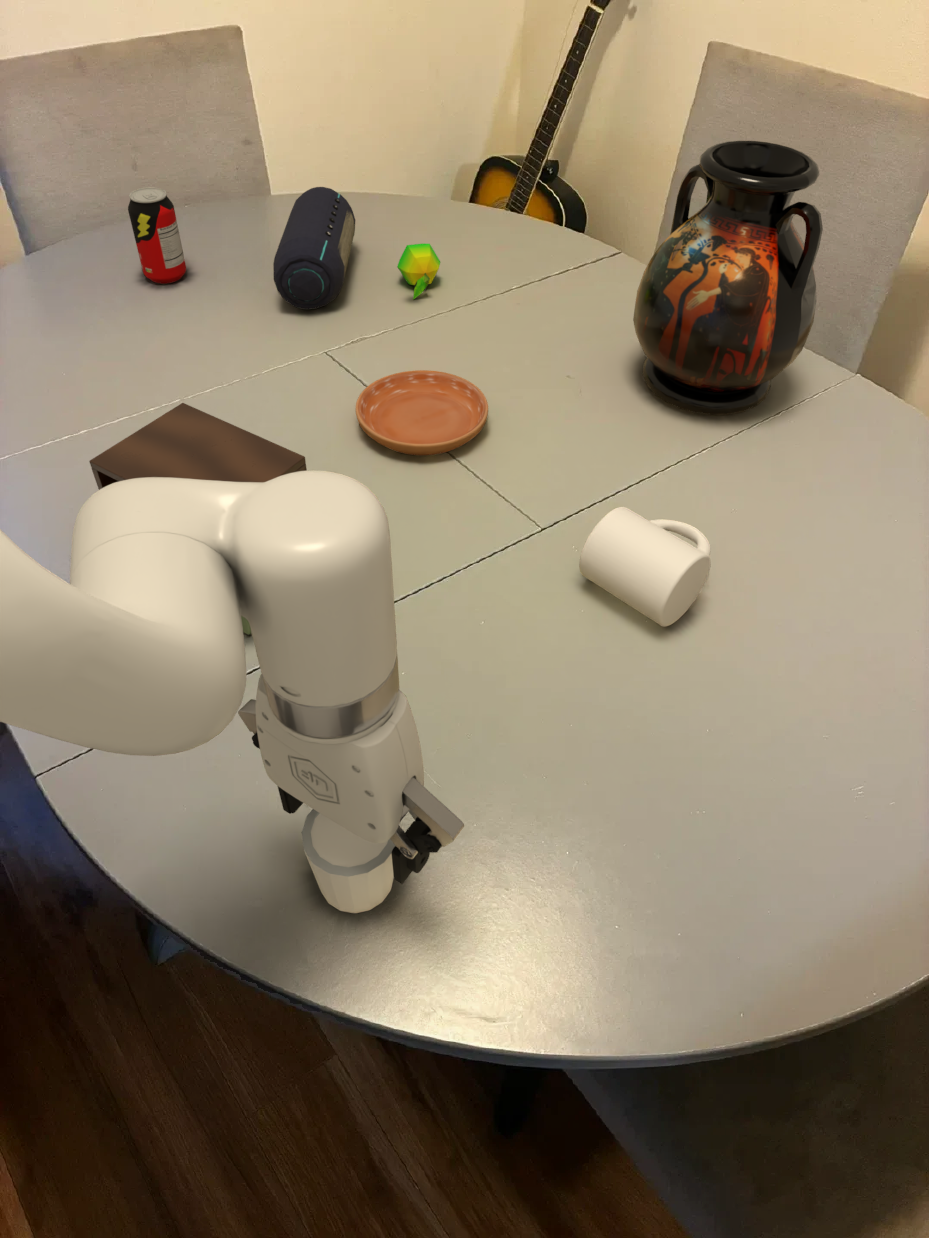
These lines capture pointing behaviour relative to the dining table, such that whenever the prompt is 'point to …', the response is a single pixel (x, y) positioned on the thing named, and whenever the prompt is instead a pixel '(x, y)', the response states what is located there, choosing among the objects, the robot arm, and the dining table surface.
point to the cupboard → (194, 452)
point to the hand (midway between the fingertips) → (355, 830)
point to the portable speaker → (314, 249)
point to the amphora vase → (731, 281)
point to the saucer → (422, 412)
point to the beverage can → (156, 235)
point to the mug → (647, 563)
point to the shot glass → (347, 864)
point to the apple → (419, 266)
